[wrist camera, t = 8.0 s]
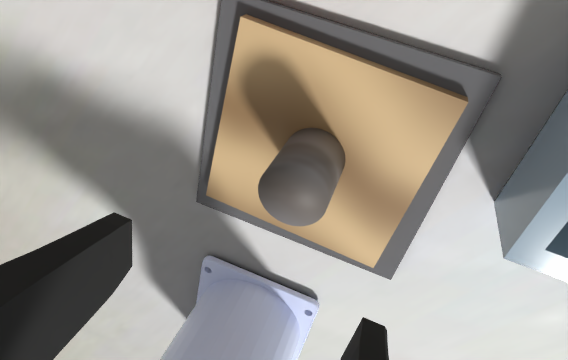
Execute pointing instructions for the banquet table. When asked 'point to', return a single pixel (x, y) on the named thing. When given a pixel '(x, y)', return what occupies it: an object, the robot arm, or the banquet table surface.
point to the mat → (378, 50)
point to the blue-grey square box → (539, 202)
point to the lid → (325, 139)
